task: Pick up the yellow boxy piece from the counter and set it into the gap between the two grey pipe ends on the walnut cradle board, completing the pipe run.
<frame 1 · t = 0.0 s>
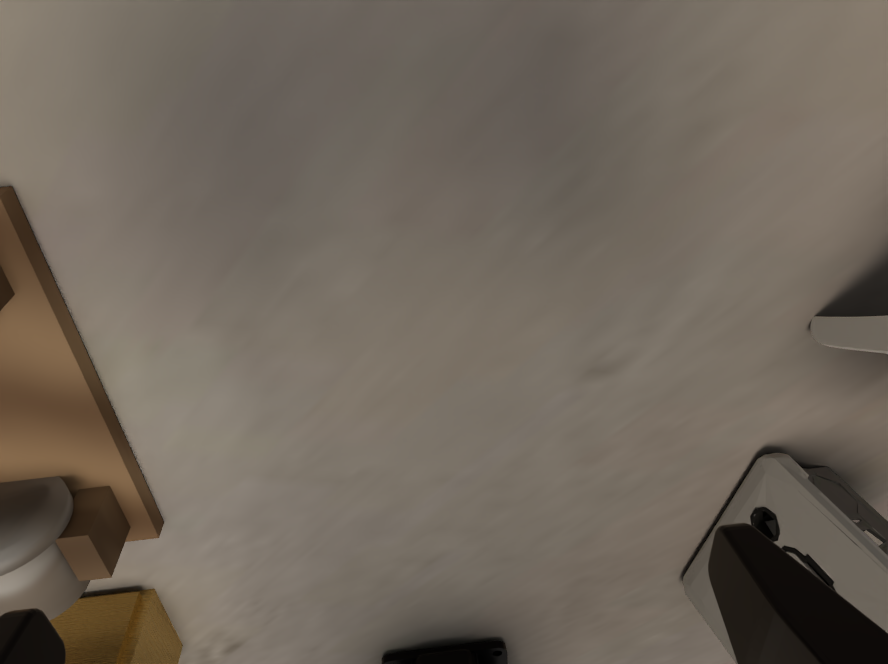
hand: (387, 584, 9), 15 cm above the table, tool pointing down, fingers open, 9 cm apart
electrical switch: (766, 514, 32), on the table
yellow boxy piece: (121, 622, 32), on the table
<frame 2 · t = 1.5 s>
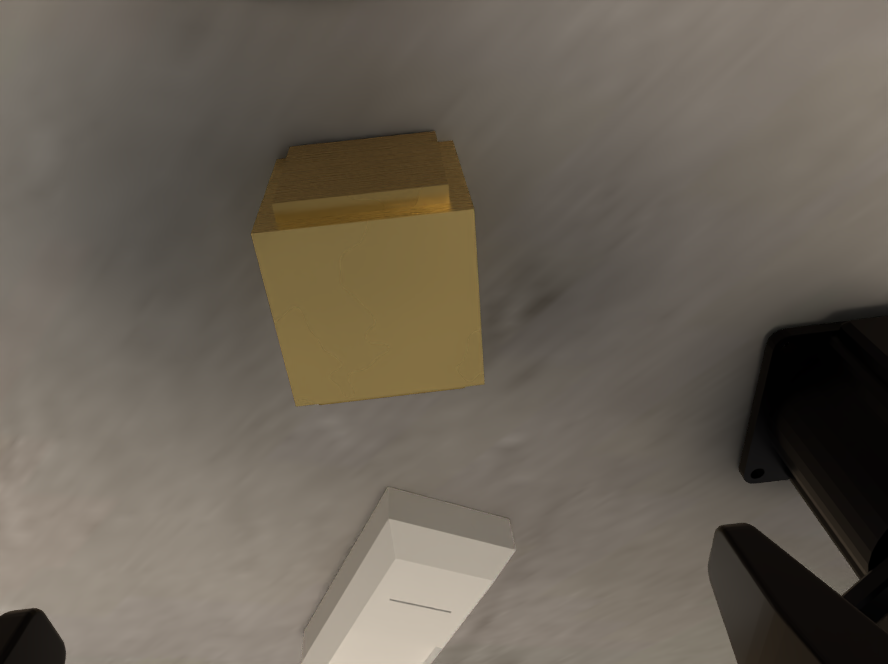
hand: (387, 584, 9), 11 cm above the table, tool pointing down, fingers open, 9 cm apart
soap bar: (400, 565, 27), on the table
yellow boxy piece: (376, 229, 19), on the table
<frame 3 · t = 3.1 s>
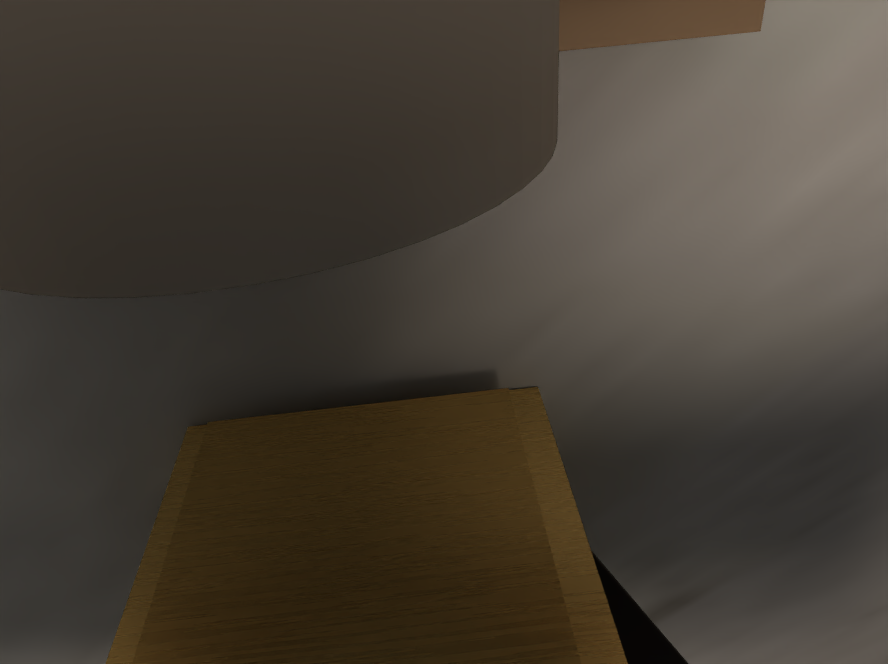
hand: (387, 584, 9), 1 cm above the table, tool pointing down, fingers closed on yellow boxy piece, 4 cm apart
yellow boxy piece: (385, 524, 10), on the table, touching gripper
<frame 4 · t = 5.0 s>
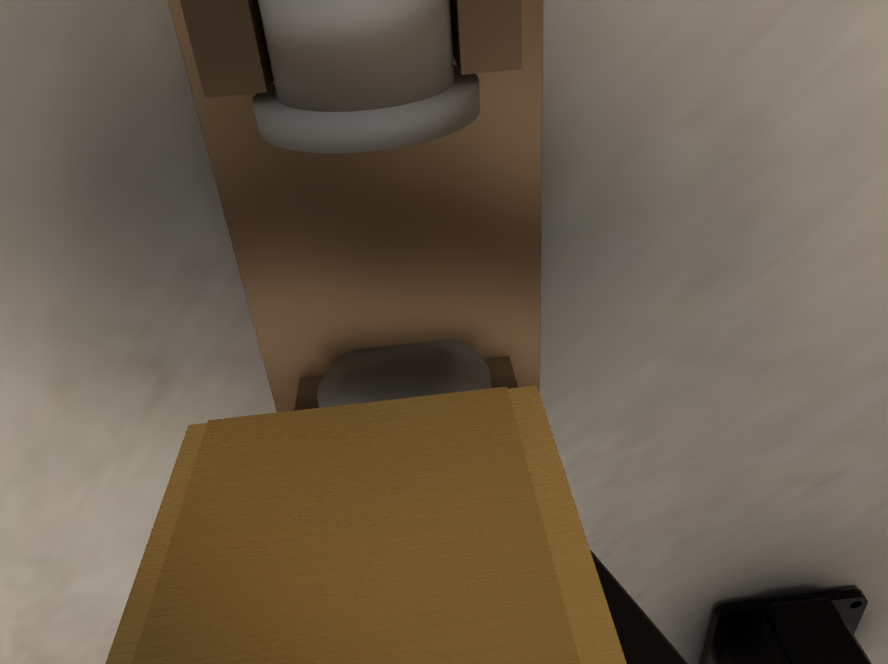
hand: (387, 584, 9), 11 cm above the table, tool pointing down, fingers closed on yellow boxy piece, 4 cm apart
pipe cradle: (388, 220, 18), on the table
yellow boxy piece: (385, 522, 10), point 10 cm above the table, touching gripper
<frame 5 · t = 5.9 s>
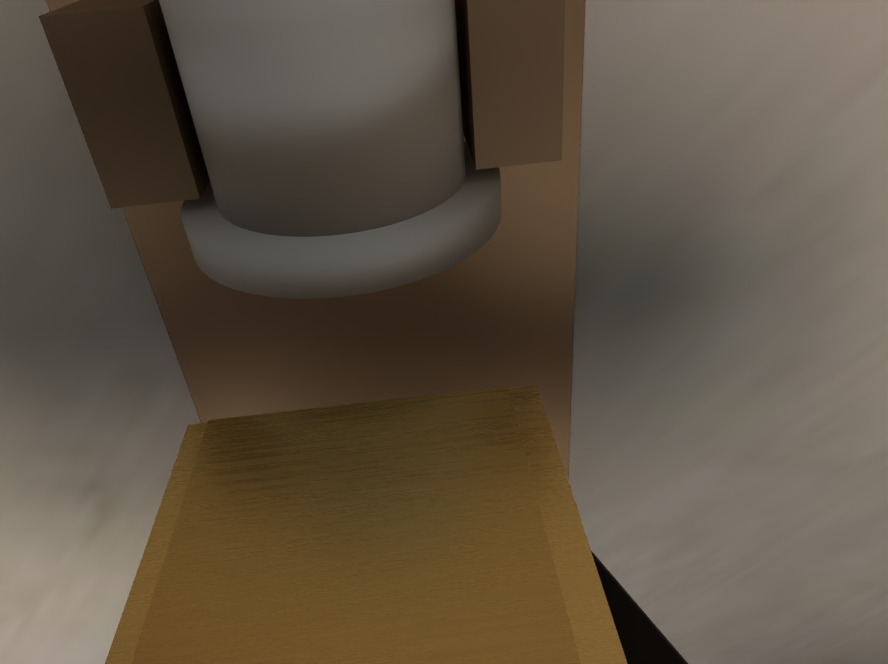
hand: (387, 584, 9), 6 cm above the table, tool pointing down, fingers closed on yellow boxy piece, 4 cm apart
pipe cradle: (378, 321, 14), on the table
yellow boxy piece: (385, 522, 10), point 5 cm above the table, touching gripper
when the fingers open (3 cm above the table, at t = 6.8 s): yellow boxy piece drops 1 cm, resting on pipe cradle.
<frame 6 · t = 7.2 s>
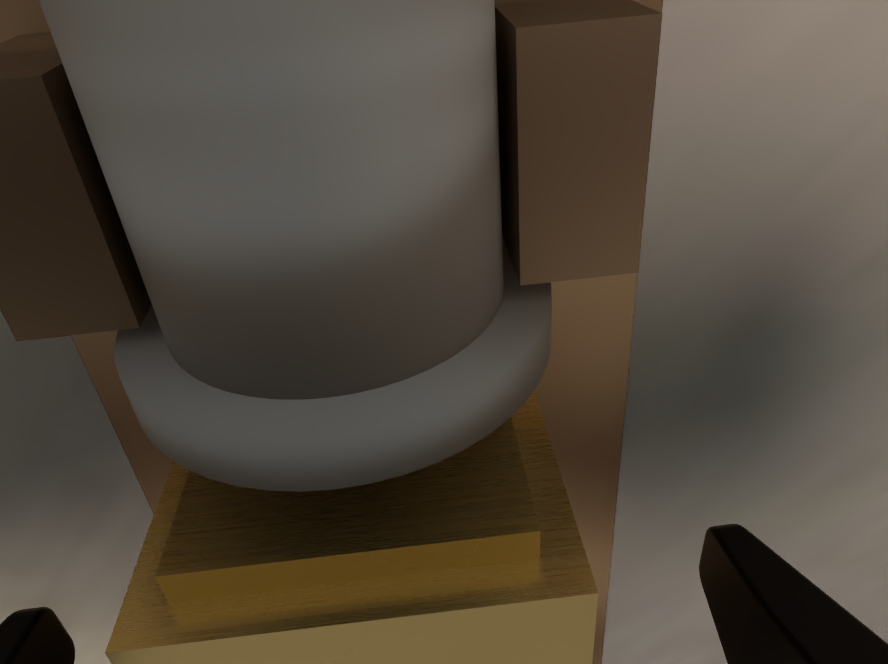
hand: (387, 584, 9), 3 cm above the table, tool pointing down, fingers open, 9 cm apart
pipe cradle: (383, 421, 12), on the table
yellow boxy piece: (381, 456, 11), point 1 cm above the table, touching pipe cradle
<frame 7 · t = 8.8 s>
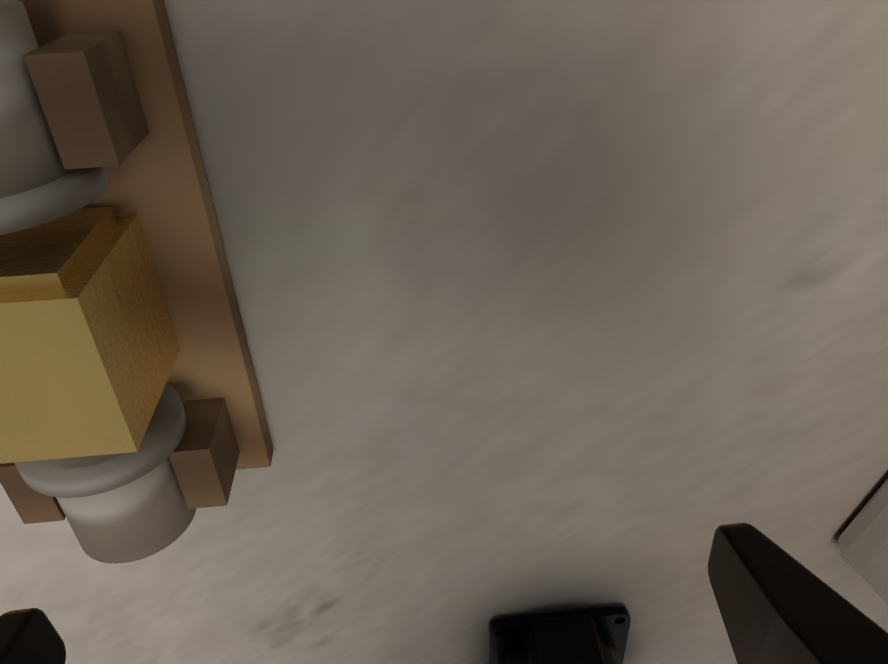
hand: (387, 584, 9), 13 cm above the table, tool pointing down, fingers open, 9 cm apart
pipe cradle: (91, 276, 20), on the table
yellow boxy piece: (80, 291, 19), point 1 cm above the table, touching pipe cradle
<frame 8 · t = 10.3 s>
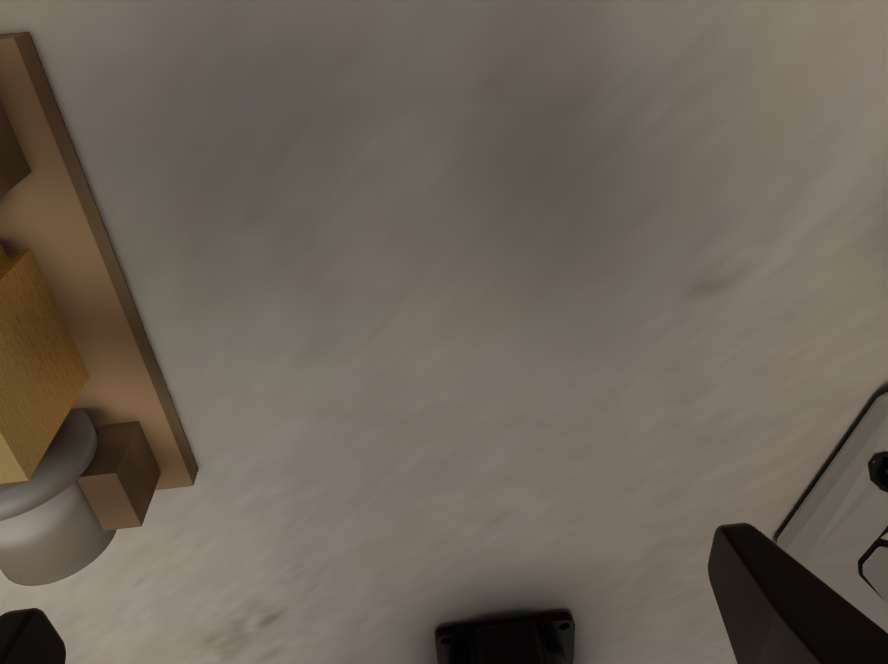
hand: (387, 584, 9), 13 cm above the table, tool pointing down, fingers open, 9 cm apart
electrical switch: (875, 467, 28), on the table
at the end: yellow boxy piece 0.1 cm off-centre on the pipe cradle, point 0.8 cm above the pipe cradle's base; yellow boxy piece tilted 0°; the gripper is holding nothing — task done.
